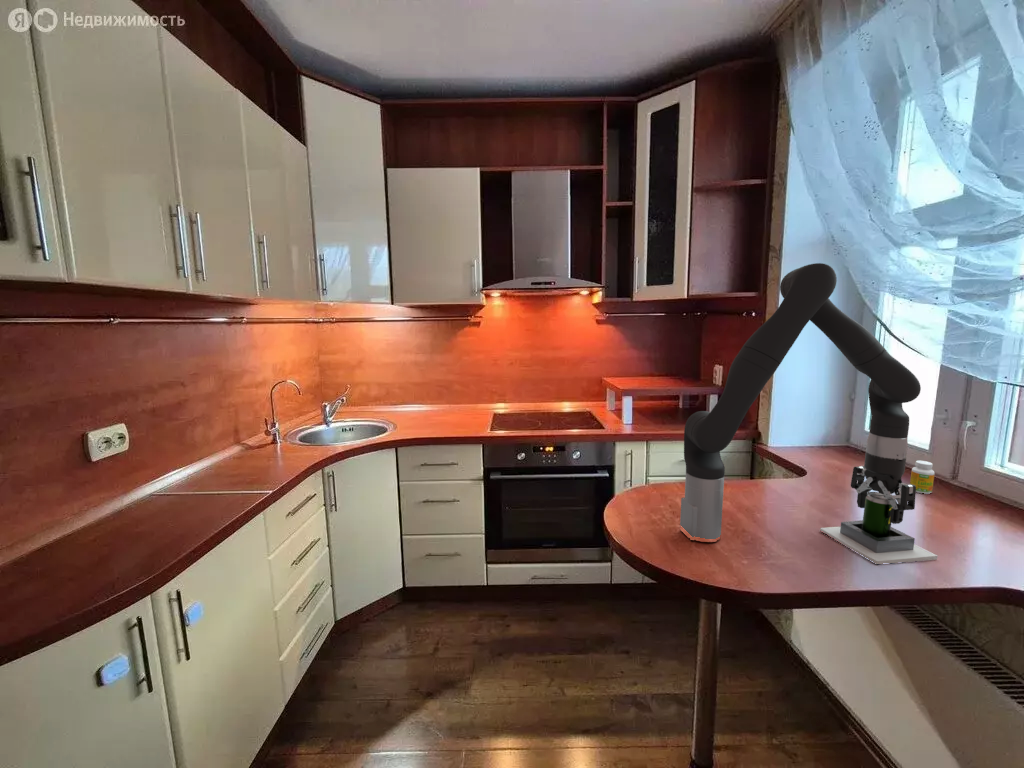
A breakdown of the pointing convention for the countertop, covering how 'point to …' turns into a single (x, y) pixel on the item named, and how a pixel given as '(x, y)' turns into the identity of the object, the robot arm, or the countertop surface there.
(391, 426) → the countertop surface
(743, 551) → the countertop surface
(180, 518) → the countertop surface
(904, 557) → the holder plate
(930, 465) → the supplement bottle
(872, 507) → the beer can
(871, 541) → the can collar
